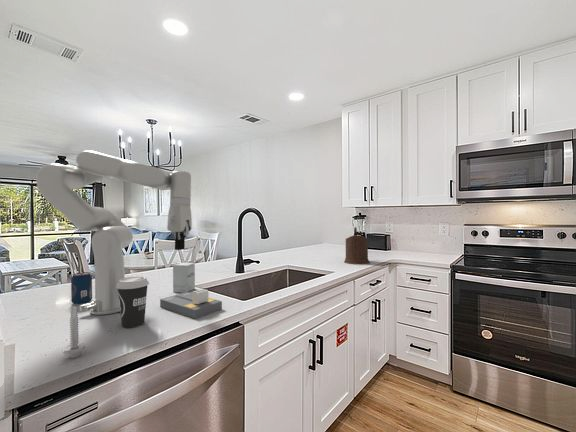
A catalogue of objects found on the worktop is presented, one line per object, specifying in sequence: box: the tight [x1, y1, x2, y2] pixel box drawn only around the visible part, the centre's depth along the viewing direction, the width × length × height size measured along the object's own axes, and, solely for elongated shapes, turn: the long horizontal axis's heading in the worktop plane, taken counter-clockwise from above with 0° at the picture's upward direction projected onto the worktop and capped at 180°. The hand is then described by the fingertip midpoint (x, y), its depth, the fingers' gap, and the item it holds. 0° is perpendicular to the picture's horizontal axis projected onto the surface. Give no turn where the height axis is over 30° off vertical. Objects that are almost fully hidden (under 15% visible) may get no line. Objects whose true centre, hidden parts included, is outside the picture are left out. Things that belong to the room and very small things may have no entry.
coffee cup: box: [116, 275, 150, 329], centre depth 93 cm, size 10×10×15 cm
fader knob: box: [191, 288, 209, 304], centre depth 105 cm, size 5×3×4 cm, turn 144°
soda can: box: [70, 271, 93, 306], centre depth 116 cm, size 7×7×12 cm
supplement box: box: [172, 262, 196, 293], centre depth 133 cm, size 7×7×13 cm
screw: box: [62, 305, 87, 359], centre depth 72 cm, size 13×5×5 cm
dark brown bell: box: [343, 226, 370, 266], centre depth 208 cm, size 18×24×25 cm
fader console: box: [159, 291, 223, 320], centre depth 108 cm, size 12×22×3 cm, turn 54°
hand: (179, 249), depth 110 cm, fingers closed
